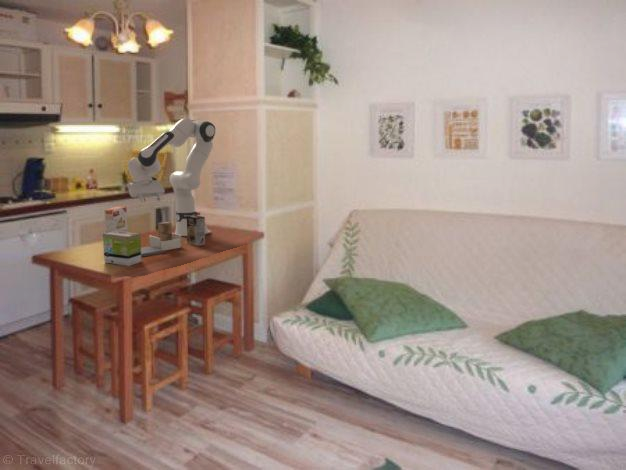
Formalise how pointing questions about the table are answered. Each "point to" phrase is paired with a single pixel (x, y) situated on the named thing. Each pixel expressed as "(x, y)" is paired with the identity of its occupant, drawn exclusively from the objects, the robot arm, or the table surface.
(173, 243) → the white open bin
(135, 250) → the tea box
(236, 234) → the table surface
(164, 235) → the walnut box
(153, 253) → the plate
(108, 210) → the cracker box
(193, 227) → the coffee box
